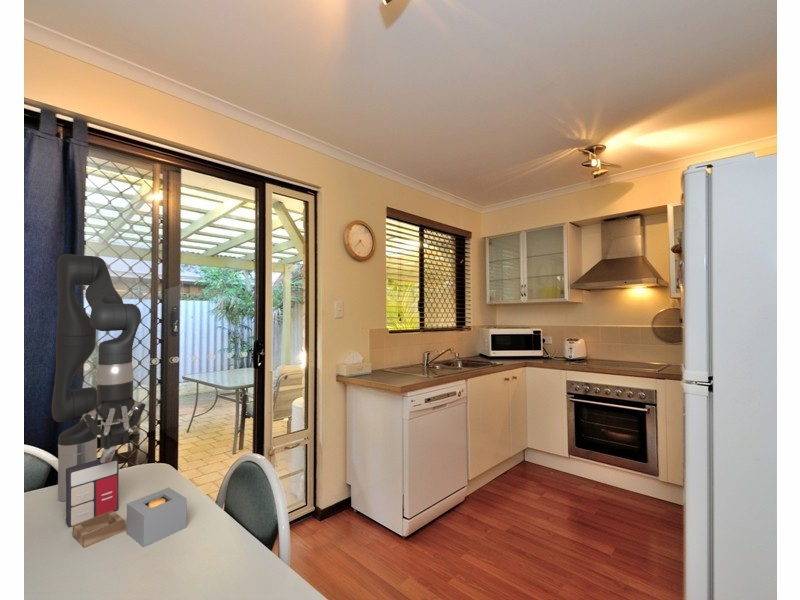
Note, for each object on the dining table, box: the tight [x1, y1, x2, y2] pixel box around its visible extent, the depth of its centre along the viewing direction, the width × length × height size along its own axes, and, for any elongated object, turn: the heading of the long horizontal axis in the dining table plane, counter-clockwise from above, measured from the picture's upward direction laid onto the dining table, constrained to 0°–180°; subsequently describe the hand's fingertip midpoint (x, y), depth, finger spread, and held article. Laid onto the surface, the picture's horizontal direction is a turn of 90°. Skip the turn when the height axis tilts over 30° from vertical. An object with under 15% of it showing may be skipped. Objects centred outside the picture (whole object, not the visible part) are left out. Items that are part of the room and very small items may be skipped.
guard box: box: [126, 487, 188, 548], centre depth 97 cm, size 10×10×8 cm
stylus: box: [99, 422, 126, 464], centre depth 98 cm, size 3×3×12 cm
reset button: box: [149, 498, 165, 508], centre depth 97 cm, size 4×4×5 cm
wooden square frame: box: [72, 510, 126, 549], centre depth 96 cm, size 8×8×3 cm
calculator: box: [65, 455, 120, 528], centre depth 104 cm, size 11×4×15 cm, turn 142°
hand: (114, 446), depth 97 cm, fingers closed on stylus, 3 cm apart
